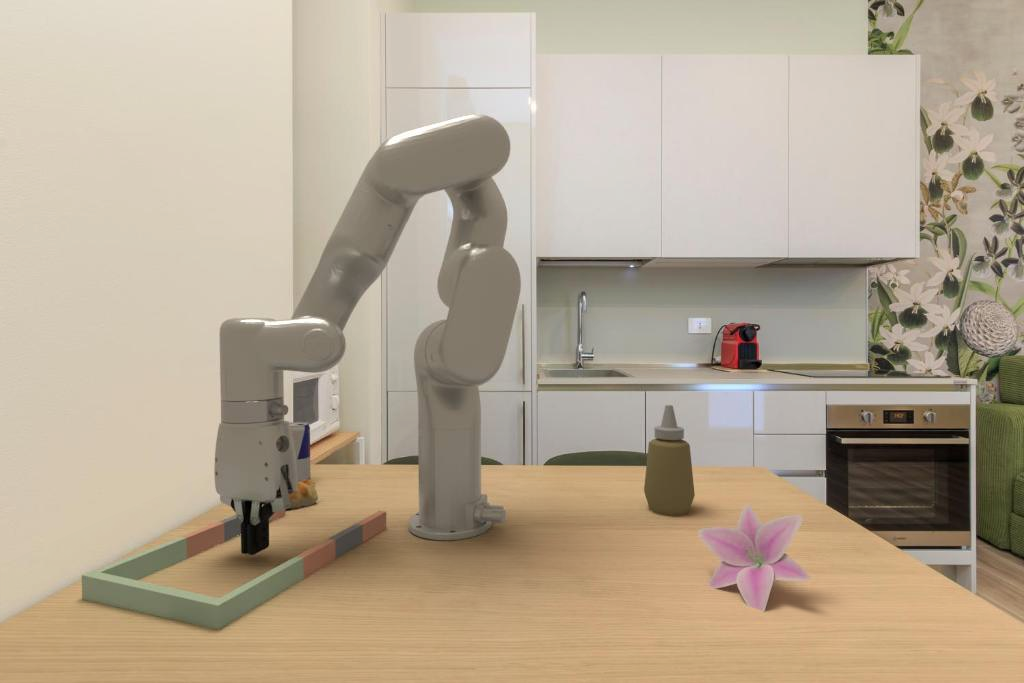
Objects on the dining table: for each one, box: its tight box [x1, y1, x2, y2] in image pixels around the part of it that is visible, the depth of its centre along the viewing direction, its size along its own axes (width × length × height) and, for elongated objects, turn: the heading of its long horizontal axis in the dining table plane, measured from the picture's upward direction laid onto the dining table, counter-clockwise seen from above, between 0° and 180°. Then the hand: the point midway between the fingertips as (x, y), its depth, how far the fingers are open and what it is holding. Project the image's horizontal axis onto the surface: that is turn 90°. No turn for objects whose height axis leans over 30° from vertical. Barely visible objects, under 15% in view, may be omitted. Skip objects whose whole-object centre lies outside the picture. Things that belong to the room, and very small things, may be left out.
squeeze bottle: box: [643, 404, 696, 517], centre depth 90 cm, size 8×8×18 cm
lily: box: [697, 503, 811, 612], centre depth 63 cm, size 12×12×10 cm
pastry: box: [286, 478, 319, 510], centre depth 95 cm, size 9×7×4 cm
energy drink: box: [289, 421, 312, 481], centre depth 109 cm, size 5×5×12 cm
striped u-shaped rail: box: [81, 505, 387, 631], centre depth 73 cm, size 20×30×3 cm
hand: (255, 550), depth 73 cm, fingers closed
